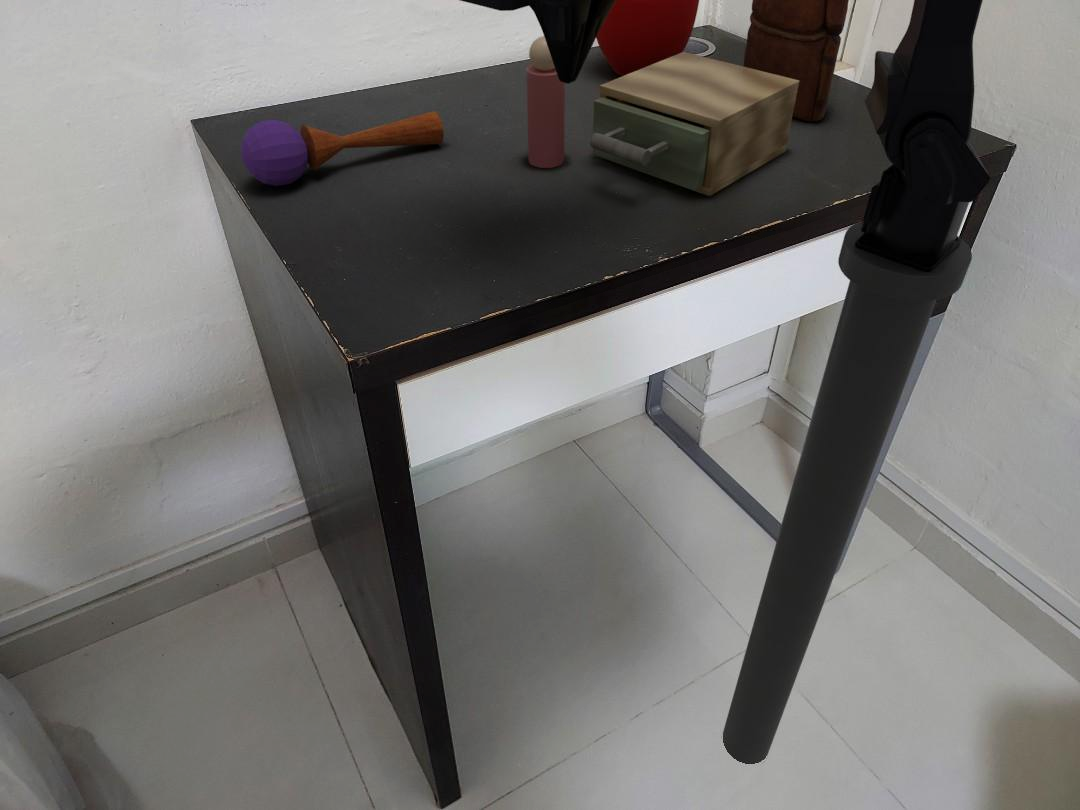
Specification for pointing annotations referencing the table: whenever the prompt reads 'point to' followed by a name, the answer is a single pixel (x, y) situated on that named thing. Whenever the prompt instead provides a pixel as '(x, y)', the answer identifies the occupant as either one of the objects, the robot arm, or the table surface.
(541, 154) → the doll
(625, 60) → the ceramic cup
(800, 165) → the table surface
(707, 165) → the cabinet
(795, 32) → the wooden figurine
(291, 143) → the kendama
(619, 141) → the drawer
